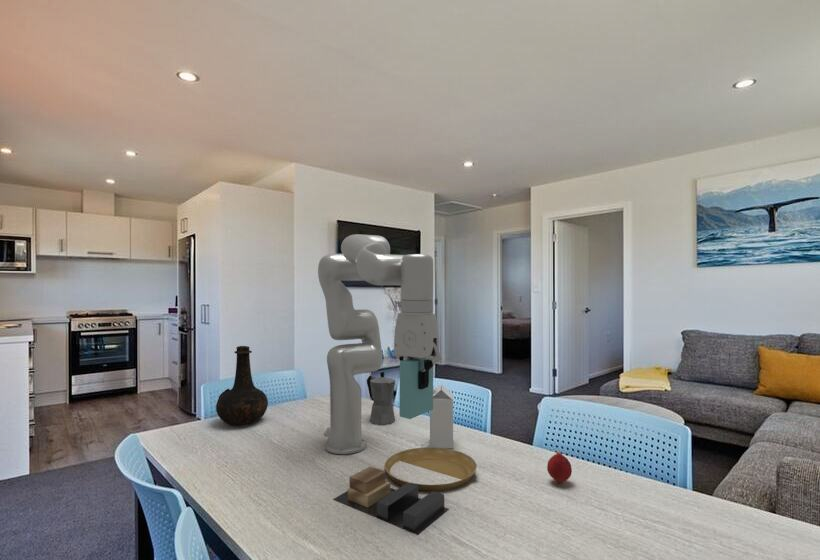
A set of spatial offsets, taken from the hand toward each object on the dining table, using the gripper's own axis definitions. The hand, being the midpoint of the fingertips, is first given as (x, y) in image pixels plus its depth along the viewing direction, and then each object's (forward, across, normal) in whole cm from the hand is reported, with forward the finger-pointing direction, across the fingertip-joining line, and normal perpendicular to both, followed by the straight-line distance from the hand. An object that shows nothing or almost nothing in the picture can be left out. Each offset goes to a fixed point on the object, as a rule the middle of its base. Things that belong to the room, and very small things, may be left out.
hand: (416, 386), depth 99 cm
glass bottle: (+28, -85, +7) cm, 90 cm away
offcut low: (+26, -9, -6) cm, 28 cm away
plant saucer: (+27, -5, +13) cm, 31 cm away
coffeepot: (+28, -46, +39) cm, 66 cm away
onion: (+27, +24, +29) cm, 46 cm away
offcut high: (+23, -9, -6) cm, 26 cm away
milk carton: (+27, -15, +33) cm, 45 cm away
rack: (+27, -3, -6) cm, 28 cm away
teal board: (+6, 0, 0) cm, 6 cm away
